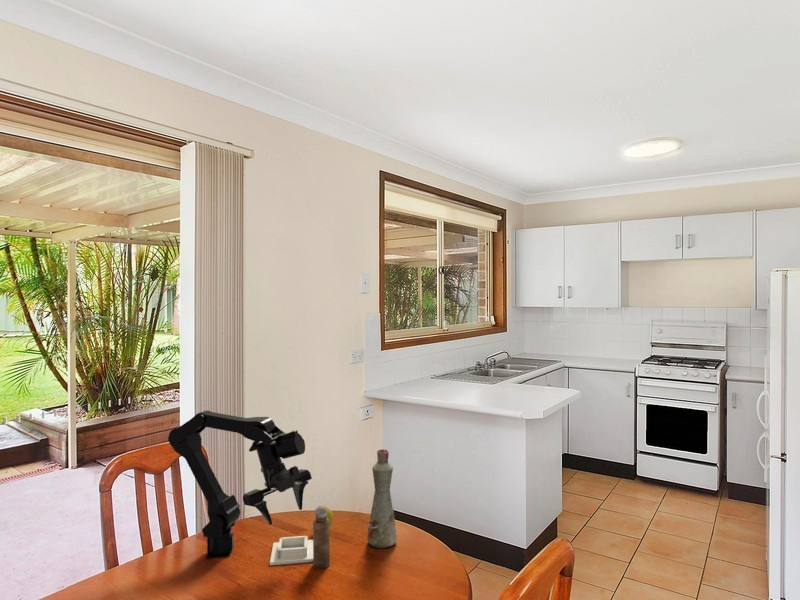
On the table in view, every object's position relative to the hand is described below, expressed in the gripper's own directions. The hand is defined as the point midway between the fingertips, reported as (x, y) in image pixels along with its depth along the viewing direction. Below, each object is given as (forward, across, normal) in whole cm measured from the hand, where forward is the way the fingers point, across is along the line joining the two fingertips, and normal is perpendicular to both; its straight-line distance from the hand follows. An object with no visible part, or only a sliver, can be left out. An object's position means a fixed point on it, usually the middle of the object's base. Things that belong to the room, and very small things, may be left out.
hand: (286, 516), depth 145 cm
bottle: (+18, +24, -4) cm, 31 cm away
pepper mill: (+15, +4, -5) cm, 16 cm away
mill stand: (+12, +1, +5) cm, 13 cm away
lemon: (+13, +15, +12) cm, 23 cm away
